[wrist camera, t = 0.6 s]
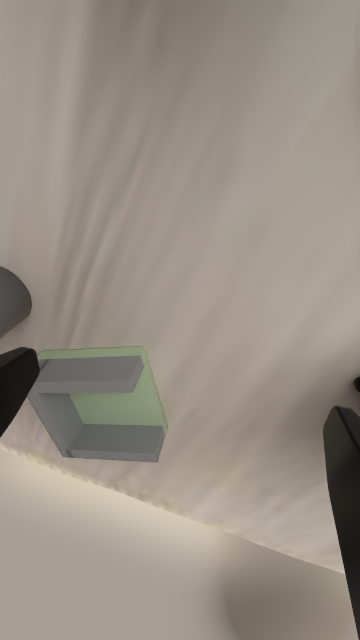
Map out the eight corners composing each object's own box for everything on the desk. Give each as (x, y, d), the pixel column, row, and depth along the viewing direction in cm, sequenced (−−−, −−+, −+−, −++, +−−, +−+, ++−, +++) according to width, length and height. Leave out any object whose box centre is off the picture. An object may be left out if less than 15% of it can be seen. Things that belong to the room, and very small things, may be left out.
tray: (143, 346, 25) (127, 378, 22) (167, 427, 30) (158, 463, 26) (42, 351, 27) (14, 380, 24) (80, 424, 32) (60, 458, 29)
